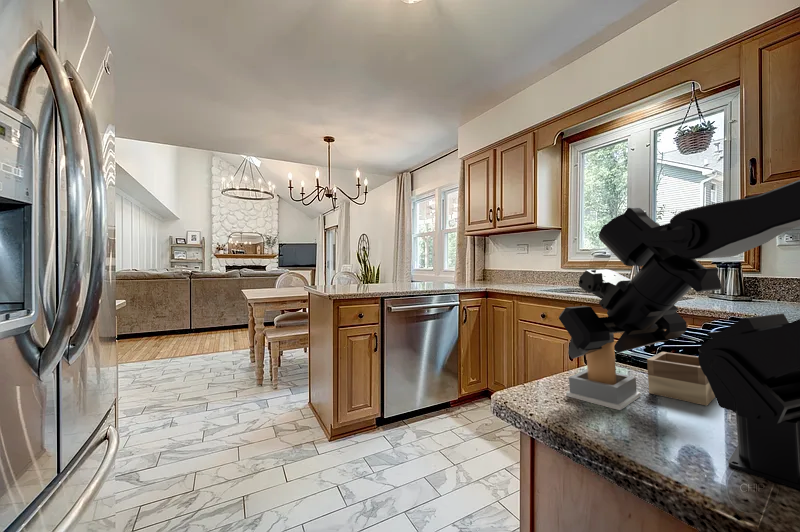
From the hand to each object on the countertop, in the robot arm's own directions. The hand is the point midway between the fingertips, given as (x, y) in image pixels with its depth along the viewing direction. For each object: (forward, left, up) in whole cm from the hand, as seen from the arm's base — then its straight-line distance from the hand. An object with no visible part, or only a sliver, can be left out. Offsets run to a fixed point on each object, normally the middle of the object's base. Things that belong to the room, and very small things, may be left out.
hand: (593, 353), depth 57 cm
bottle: (-1, -1, -6) cm, 6 cm away
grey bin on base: (-1, -1, -7) cm, 7 cm away
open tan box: (+9, -9, -7) cm, 15 cm away
